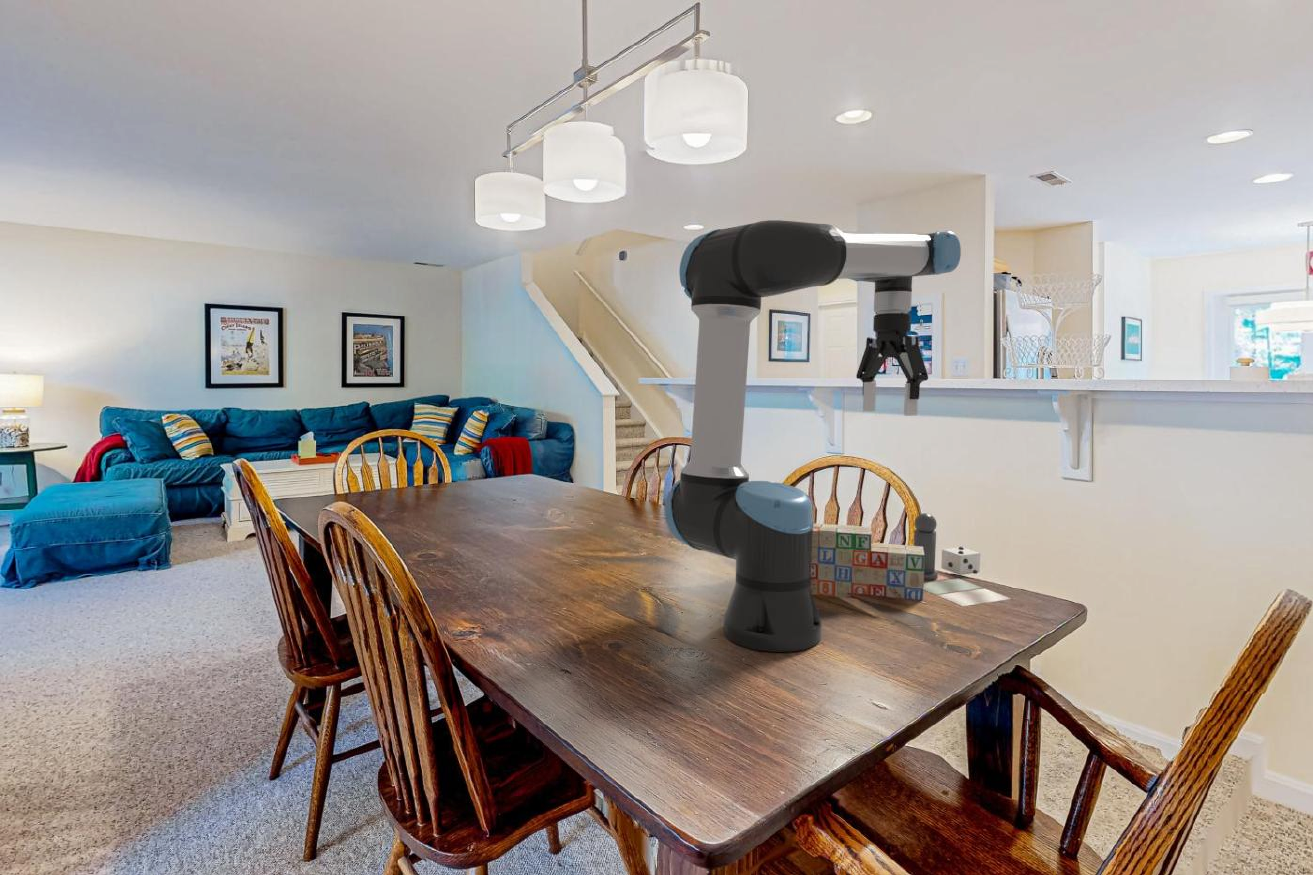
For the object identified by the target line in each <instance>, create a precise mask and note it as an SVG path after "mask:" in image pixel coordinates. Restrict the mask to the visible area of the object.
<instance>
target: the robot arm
mask: <svg viewBox="0 0 1313 875" xmlns="http://www.w3.org/2000/svg"><path fill="white" fill-rule="evenodd" d="M961 250H962V248H961V242H960V239H959V237H958V236H957V234H955V233H954V232H953V231H949V230H946V231H935V232H930V233H907V232H906V233H903V232H902V233H900V232H871V231H870V232H869V231H867V232H866V231H846V230H845V231H844V230H843V231H842V230H840V229H839V228H837V226H836V227H835V225H834V226H833V225H831V224H830V223H829V224H828V223H815V222H803V221H794V220H792V221H791V220H781V219H779V220H778V219H777V220H776V219H773V220H769V219H767V220H760V221H757V222H752V223H747V224H743V225H737V226H733V227H727V228H722V229H721V228H719V229H714V230H713V229H712V230H711V231H709V232H707V233H704V234H701V235H699V236H697V237H695V238H694V239H693V240H692V241H690V243H689V244H688V245H687V246H686V248H685V250H684V252H683V253H682V256H681V260H680V264H679V270H678V272H679V274H678V275H679V281H680V285H681V287H683V288H684V290H683V291H684V294H685V296H687V297H688V299H690V300H691V304H690V305H691V306H690V308H691V309H690V310H691V311H692V312H693V314H695V316H696V317H697V318H698V320H699V321H698V337H697V351H696V352H697V354H696V364H695V366H696V367H695V380H694V382H695V384H694V395H693V396H694V397H693V399H694V400H693V411H692V412H693V414H692V429H691V431H692V432H691V442H690V444H691V445H690V460H689V461H688V463H686V465H684V466H683V467H682V468H681V469H680V479H679V480H678V481H676V482H675V483H673V485H672V486H671V490H670V491H668V492H667V495H666V497H665V500H664V501H665V502H664V519H665V523H666V525H667V528H668V530H669V531H670V533H671V534H672V536H673V537H674V538H675V539H676V540H677V541H678V542H680V543H682V544H685V545H687V546H688V547H690V548H692V549H694V550H698V551H705V552H707V553H712V554H715V555H719V556H722V557H726V558H728V559H733V560H735V584H734V588H733V591H732V593H731V596H730V599H729V603H728V606H727V609H726V612H725V614H724V617H723V618H724V619H723V633H724V635H725V637H726V638H727V639H728V640H730V641H732V642H733V643H735V644H737V645H739V646H741V647H745V648H747V649H752V650H755V651H762V652H763V651H764V652H771V653H772V652H773V653H790V652H798V651H804V650H807V649H810V648H813V647H814V646H816V645H817V644H818V643H819V642H820V641H821V640H822V620H821V617H820V614H819V610H818V607H817V604H816V600H815V597H814V594H812V590H811V562H812V534H813V525H814V518H813V503H812V501H811V497H809V495H808V494H807V493H806V492H805V491H803V490H802V489H800V488H798V487H796V486H792V485H790V484H785V483H783V482H782V483H781V482H770V481H767V480H766V481H765V480H751V481H749V479H750V474H749V472H747V471H746V469H745V468H744V467H743V466H742V451H743V450H742V449H743V437H744V435H743V434H744V433H743V432H744V420H745V407H746V406H745V405H746V391H747V374H748V365H749V364H748V363H749V349H750V348H749V347H750V333H751V332H750V331H751V323H752V321H753V320H754V319H755V318H756V317H758V315H760V314H761V310H762V309H761V307H762V298H766V297H767V298H768V297H772V296H779V295H783V294H786V293H792V292H796V291H799V290H803V289H808V288H812V287H823V286H829V285H831V284H833V283H834V282H836V280H838V279H839V280H842V279H843V280H844V279H849V280H852V281H854V282H866V283H874V292H873V293H874V295H873V296H874V298H873V311H874V312H875V313H876V314H875V315H874V316H873V332H874V333H876V334H877V335H876V336H875V337H874V336H873V337H872V336H871V337H870V336H868V337H867V338H866V341H865V342H866V343H865V349H864V351H863V354H862V358H861V361H860V363H859V367H858V370H857V371H856V379H859V380H860V381H861V382H862V399H863V401H862V412H876V397H877V396H876V392H877V381H876V379H875V378H876V376H877V374H878V373H879V371H880V370H881V368H882V366H883V364H884V363H885V361H886V360H888V359H889V358H893V359H894V360H896V361H897V363H898V365H899V367H900V369H901V372H903V375H904V376H905V379H906V382H905V384H904V404H903V405H904V406H903V416H906V417H907V416H911V417H912V416H918V403H919V402H918V400H919V399H920V389H921V388H920V387H921V386H920V385H921V383H923V382H925V381H928V379H929V373H928V372H927V368H926V365H925V362H924V358H923V356H922V351H921V348H920V344H919V336H918V335H917V334H914V335H913V334H907V333H909V332H910V331H911V326H912V324H911V323H912V315H911V314H910V313H909V312H911V311H912V291H913V277H921V276H922V277H923V276H932V275H933V276H934V275H941V274H946V273H952V272H953V271H955V270H956V269H957V267H958V265H959V264H960V260H961V255H962V254H961Z"/></svg>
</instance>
